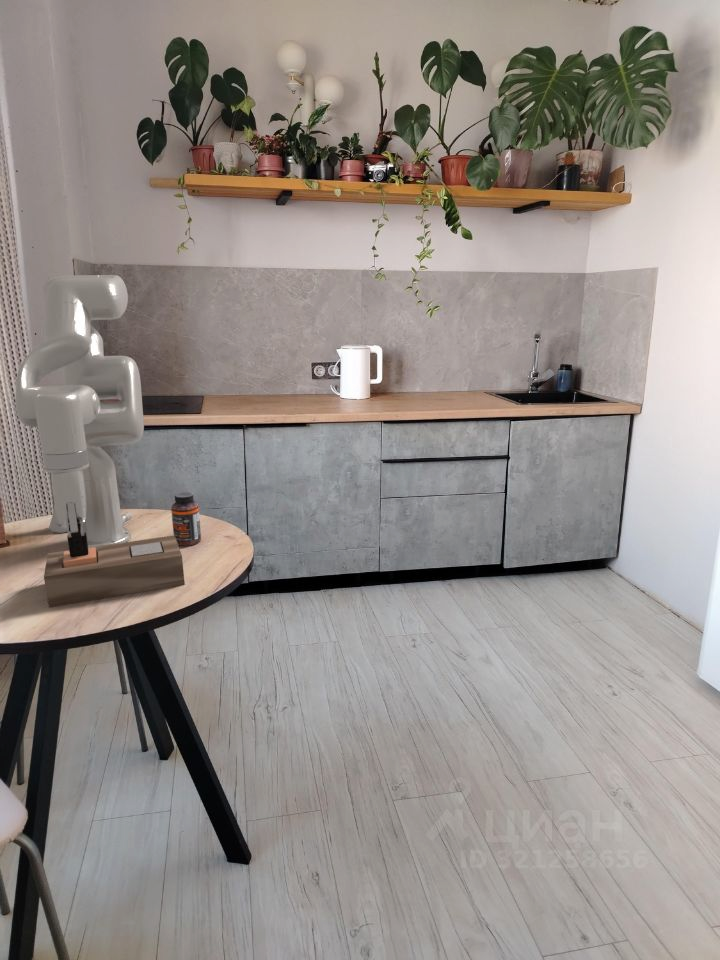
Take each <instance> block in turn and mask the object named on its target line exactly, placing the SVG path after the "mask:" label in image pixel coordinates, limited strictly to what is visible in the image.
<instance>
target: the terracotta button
mask: <svg viewBox="0 0 720 960" xmlns="http://www.w3.org/2000/svg"><path fill="white" fill-rule="evenodd" d="M64 551H65V552H64V559H63V564H64V568H66V567H73V566H79V565H86V564H93V563H98V562H97V554H96V547H92V548H88V555H84V556H77V557H71V556H70V552H69V551H68V550H64Z"/></svg>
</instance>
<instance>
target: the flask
mask: <svg viewBox="0 0 720 960" xmlns="http://www.w3.org/2000/svg"><path fill="white" fill-rule="evenodd" d="M48 530H49V531H50V532H51V533H56V534H57V533H58V534H61V533H66V532H67V525H66V519H65V522H64V524H62V525H61V526H58V525H57V521H56V512H55V505H54V506H53V510H52V516H51V519H50V523H49V527H48ZM67 533H68V532H67Z"/></svg>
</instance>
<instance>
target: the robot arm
mask: <svg viewBox="0 0 720 960" xmlns="http://www.w3.org/2000/svg"><path fill="white" fill-rule="evenodd" d="M42 291H43V299H44V304H45V306H44V329H43V330H44V331H43V332H44V337H43V338H44V339H43V340H42V341H41V342H39V343H38V344H37V345H36V346H35V347H34V348H33V349H32V350H31V351H30V352H29V353H28V354H27V356H26V357H25V358H24V360H23V361H22V362H21V364H20V365H19V368H18V370H17V374H16V381H15V382H16V383H15V397H14V398H15V400H14V402H15V411H16V415H17V418H18V420H19V421H20V422H21V423H22V425H24V426H26V427H29V428H30V427H31V428H37V431H38V436H39V444H40V451H41V456H42V457H41V458H42V465H43V470H44V472H46V473H50V477H51V487H52V488H51V489H52V496H53V497H52V498H53V503H54V505H55V512H56V521H57V525H58V526H61V525H62V524H64V522H65V519H66V525H67V542H68V543H67V545H68V550H69V552H70V556H71V557H77V556H84V555H88V548H89V547H96V546H103V545H110V544H117V543H124V542H129V540H130V539H131V536H132V535H131V534H132V533H131V531H130V530H129V529H127V528H126V527H125V526H124V525H125V524H126V523H127V522H129V521H130V520H131V519H132V518H133V517H132V514H131V513H130V512H124V513H123V514H122V512H121V505H120V496H119V488H118V487H119V486H118V481H117V474H116V473H117V472H116V466H115V462H114V461H113V459H112V458H111V456H110V455H109V454H108V453H107V452H106V451H105V450H104V449H103V448H102V447H105V446H106V447H107V446H117V445H131V444H135V443H138V442H140V441H141V440H142V438H143V435H144V430H145V429H144V428H145V425H144V411H143V409H144V408H143V395H142V384H141V374H140V370H139V367H138V365H137V362H136V361H135V360H134V359H133V358H132V357H129V356H126V355H104V354H105V353H104V340H103V337H102V336H101V334H100V333H99V332H98V330H97V329H95V327H94V326H93V325H92V323H91V321H100V320H101V321H103V320H105V321H107V320H110V321H111V320H117V319H120V318H122V316H123V315H124V313H125V312H126V310H127V308H128V300H129V295H128V289H127V285H126V284H125V281H124V280H123V278H121V276H119V275H116V274H97V275H96V274H95V275H94V274H93V275H92V274H91V275H90V274H89V275H88V274H87V275H84V274H83V275H82V274H79V275H60V276H55V277H51V278H49V279H48V280H46V281H45V283H44V284H43V287H42ZM61 368H63V370H62V371H63V385H46V386H45V385H42V386H38V385H39V383H40V382H41V381H42V380H43V378H45V377H46V376H47V375H49V374H50V373H53V372H55V371H56V370H59V369H61ZM101 400H102V401H101ZM103 400H113V401H103ZM114 400H115V401H114ZM116 400H117V401H116Z"/></svg>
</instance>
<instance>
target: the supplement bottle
mask: <svg viewBox="0 0 720 960" xmlns="http://www.w3.org/2000/svg"><path fill="white" fill-rule="evenodd" d="M194 499H195V498H194V493H193V492H191V491H181V492H178V493H176V494H174V501H175V502H174V503H173V504H172V505H171V508H170V509H171V520H172V530H173V531H172V532H173V535H175V538H176V541H177V543H178V546H182V547H188V546H194V545H196V544H199V543H200V542H201V540H202V533H201V532H202V531H201V519H200V508H199V503H198V502H196V501H195V500H194Z"/></svg>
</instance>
